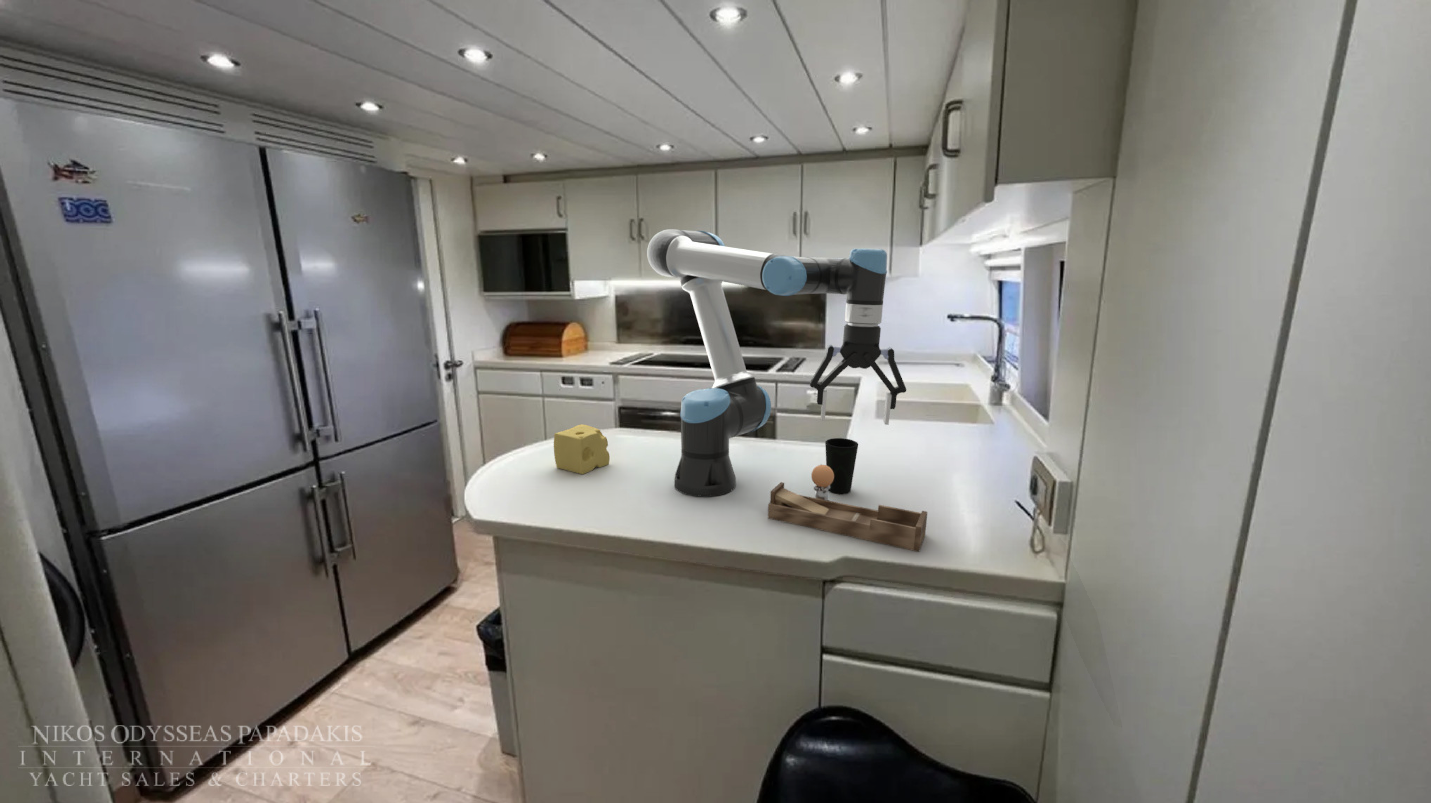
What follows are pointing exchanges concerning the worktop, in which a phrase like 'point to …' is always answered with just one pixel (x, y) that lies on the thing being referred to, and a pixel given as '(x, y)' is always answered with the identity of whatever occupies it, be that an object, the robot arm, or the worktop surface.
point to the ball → (822, 476)
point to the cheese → (580, 449)
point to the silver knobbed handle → (821, 492)
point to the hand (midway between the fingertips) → (854, 421)
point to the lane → (850, 519)
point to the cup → (841, 463)
